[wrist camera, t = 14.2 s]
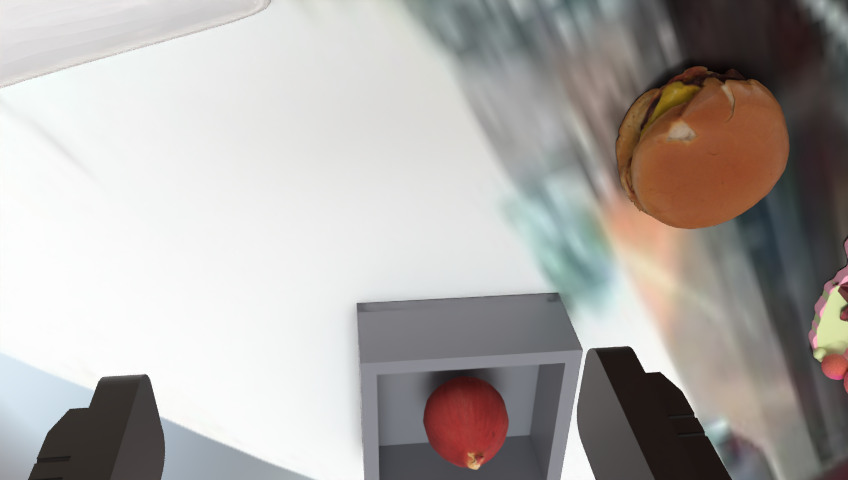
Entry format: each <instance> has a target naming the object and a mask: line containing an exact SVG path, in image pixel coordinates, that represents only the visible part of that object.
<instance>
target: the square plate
mask: <svg viewBox="0 0 848 480" xmlns="http://www.w3.org/2000/svg"><path fill="white" fill-rule="evenodd" d="M270 2H271V0H0V88H3V87H6V86H9V85H12V84H15V83H18V82H21V81H25V80H28V79H32V78H35V77H39V76H42V75H46V74H49V73H52V72H56V71H59V70H62V69H66V68H69V67H73V66H76V65H80V64H84V63H87V62H91V61H94V60H98V59H102V58H105V57H109V56H112V55H116V54H120V53H123V52H127V51H131V50H134V49H138V48H142V47H145V46H149V45H153V44H156V43H160V42H164V41H167V40H171V39H174V38H178V37H182V36H185V35H189V34H192V33H196V32H200V31H203V30H207V29H210V28H214V27H217V26H221V25H224V24H228V23H231V22H234V21H237V20H240V19H243V18H245V17H248V16H251V15H254V14H256V13H258V12H260V11H262V10H264V9H266V8H267V7H268V5H269V4H270Z"/></svg>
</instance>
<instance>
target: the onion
mask: <svg viewBox="0 0 848 480" xmlns="http://www.w3.org/2000/svg"><path fill="white" fill-rule="evenodd" d="M423 424H424V427H425V431H426V434H427V437H428V441H429V443H430V444H431V446H432V448H433V449H434V450H435V451H436V452H437V453H438V454H439V455H440V456H441V457H442V458H443V459H444V460H446V461H448V462H450V463H452V464H455V465H457V466H459V467H466V468H471V469H476V470H477V469H478V468H479V467H480V466H481V465H483V464H485V463H486V462H488V461H489V460H490V459H492V458H493V457H494V456H495V454H496V453H497V452H498V451H499V449H500V448H501V447H502V445H503V443H504V441H505V438H506V434H507V431H508V426H509V419H508V414H507V410H506V406H505V402H504V400H503V398H502V396H501V394H500V393H499V392H498V391H497V390H496V389H495V388H494V387H493V386H492V385H491V384H489V383H488V382H487V381H484V380H482V379H479V378H477V377H468V376H460V377H456V378H453V379H451V380H449V381H447V382H445V383H443V384H441V385H440V386H439V387H438V388H437V389H436V390H435V391H434V392H433V393H432V394H431V395H430V397H429V398H428V399H427V402H426V406H425V410H424V416H423Z"/></svg>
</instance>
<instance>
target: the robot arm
mask: <svg viewBox="0 0 848 480" xmlns="http://www.w3.org/2000/svg"><path fill="white" fill-rule="evenodd" d="M577 424H578V431H579V435H580V439H581V442H582V444H583V447H584V450H585V453H586V455H587V458H588V461H589V463H590V466H591V469H592V471H593V474H594V477H595V479H596V480H732V479H731V477H730V476H729V474H728V472H727V470H726V468H725V467H724V465H723V463H722V461H721V460H720V458H719V456H718V454H717V453H716V451H715V449H714V447H713V445H712V444H711V442H710V440H709V438H708V437H707V436H705V431H704V429H703V428H702V426H701V424H700V422H699V421H698V419H697V418H695V416H694V412H693V410H692V408H691V406H690V405H689V403H688V401H687V399H686V398H685V396H684V394H683V392H682V391H681V390H680V389H679V388H678V387H677V386H675V385H674V384H673V383H672V382H671V381H670V380H669V379H667V378H666V377H665V376H664V375H663V374H662V373H661V372H653V373H645V371H644V369H643V367H642V365H641V364H640V362H639V360H638V358H637V356H636V354H635V352H634V351H633V349H632V348H631V347H629V346H624V347H608V348H592V349H589V350H588V352H587V355H586V360H585V365H584V371H583V377H582V382H581V388H580V393H579V399H578V405H577ZM164 459H165V442H164V434H163V429H162V426H161V421H160V417H159V413H158V409H157V405H156V401H155V397H154V393H153V389H152V385H151V381H150V379H149V377H148V375H146V374H143V375H127V376H110V377H102V378H101V379H100V381H99V382H98V384H97V387H96V390H95V393H94V395H93V398H92V401H91V403H90V406H89V408H77V409H69V411H67V412H66V414H65V415H64V416H63V417H62V418H61V419H60V420H59V421H58V422H57V423H56V424H55V425H54V426H53V427H52V429H51V430H50V431H49V432H48V433H47V436H46V438H45V440H44V443H43V445H42V448H41V450H40V452H39V455H38V457H37V463H36V464H34V467H33V469H32V472H31V474H30V477H29V479H28V480H161V476H162V472H163V467H164Z"/></svg>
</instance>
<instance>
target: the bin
mask: <svg viewBox="0 0 848 480" xmlns="http://www.w3.org/2000/svg"><path fill="white" fill-rule="evenodd" d="M357 319H358V344H359V368H360V393H361V418H362V443H363V463H364V480H560V478H561V472H562V467H563V461H564V455H565V449H566V444H567V438H568V432H569V427H570V421H571V415H572V409H573V404H574V398H575V392H576V387H577V381H578V375H579V369H580V364H581V358H582V352H583V349H582V347H581V344H580V342H579V340H578V338H577V335H576V333H575V331H574V328H573V326H572V324H571V321H570V319H569V317H568V315H567V312H566V310H565V308H564V305H563V303H562V301H561V298H560V296H559V294H558V293H548V294H529V295H510V296H491V297H473V298H454V299H435V300H416V301H397V302H378V303H360V304H357ZM460 376H468V377H477V378H479V379H482V380H484V381H487V382H488V383H489V384H491V385H492V386H493V387H494V388H495V389H496V390H497V391H498V392H499V393H500V394H501V396H502V398H503V400H504V402H505V406H506V410H507V414H508V419H509V426H508V431H507V434H506V438H505V441H504V443H503V445H502V447H501V448H500V449H499V451H498V452H497V453H496V454H495V456H494V457H493V458H492V459H490V460H489V461H488V462H486V463H485V464H483V465H481V466H480V467H479V468H478V469H477V470H476V469H471V468H466V467H459V466H457V465H455V464H452V463H450V462H448V461H446V460H444V459H443V458H442V457H441V456H440V455H439V454H438V453H437V452H436V451H435V450H434V449H433V448H432V446H431V444H430V443H429V441H428V437H427V434H426V431H425V427H424V424H423V416H424V410H425V406H426V402H427V399H428V398H429V397H430V395H431V394H432V393H433V392H434V391H435V390H436V389H437V388H438V387H439V386H440V385H441V384H443V383H445V382H447V381H449V380H451V379H453V378H456V377H460Z"/></svg>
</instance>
